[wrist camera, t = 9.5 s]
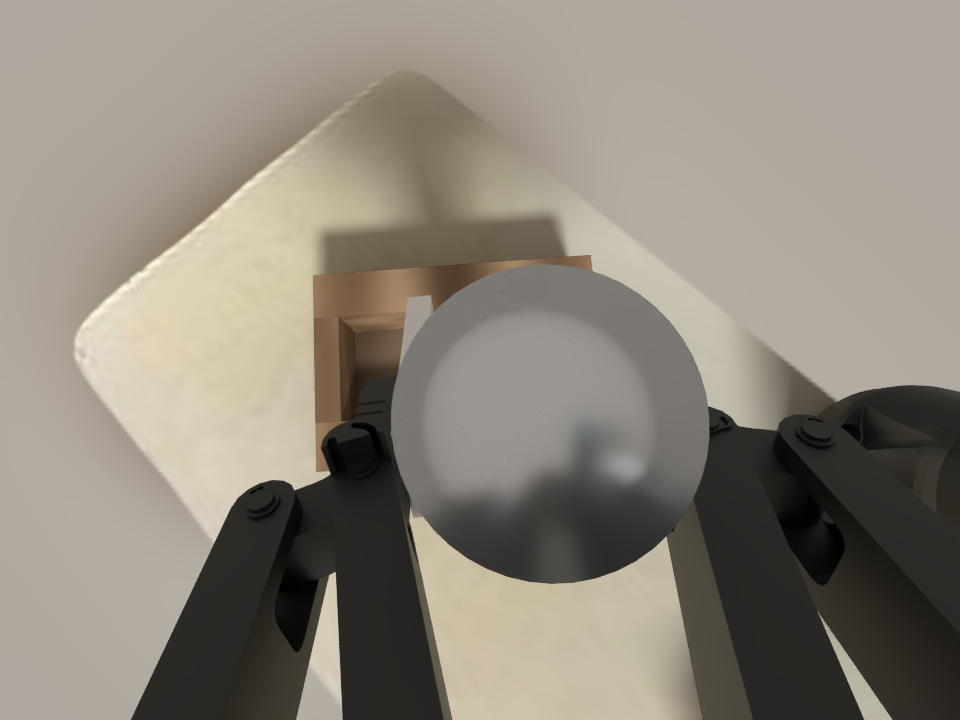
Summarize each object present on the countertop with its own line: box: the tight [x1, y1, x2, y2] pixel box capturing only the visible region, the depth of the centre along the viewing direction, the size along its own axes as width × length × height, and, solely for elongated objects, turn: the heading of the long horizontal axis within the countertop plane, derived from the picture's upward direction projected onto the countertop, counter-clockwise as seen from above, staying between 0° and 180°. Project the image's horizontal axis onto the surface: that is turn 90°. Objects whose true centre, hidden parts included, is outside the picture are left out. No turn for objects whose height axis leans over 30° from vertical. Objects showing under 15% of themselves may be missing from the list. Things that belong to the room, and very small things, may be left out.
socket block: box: [313, 255, 593, 472], centre depth 31 cm, size 17×12×5 cm
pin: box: [391, 264, 709, 584], centre depth 13 cm, size 4×4×13 cm
